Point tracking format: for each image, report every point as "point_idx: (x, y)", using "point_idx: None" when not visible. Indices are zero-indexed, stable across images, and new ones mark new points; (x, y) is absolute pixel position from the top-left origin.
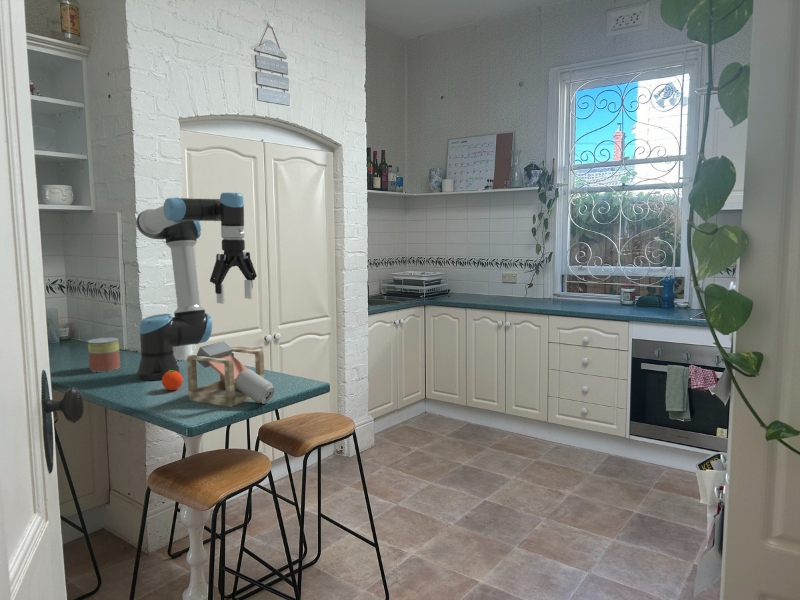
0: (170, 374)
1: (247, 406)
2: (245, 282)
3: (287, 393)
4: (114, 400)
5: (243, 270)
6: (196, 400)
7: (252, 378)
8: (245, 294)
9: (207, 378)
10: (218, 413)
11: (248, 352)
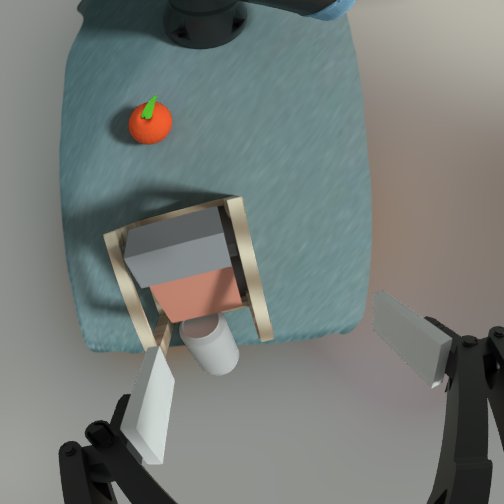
0: (136, 129)
1: None
2: (428, 346)
3: (284, 325)
4: (61, 123)
5: (446, 441)
6: None
7: (200, 359)
8: (384, 308)
9: (255, 103)
10: None
11: (252, 306)
